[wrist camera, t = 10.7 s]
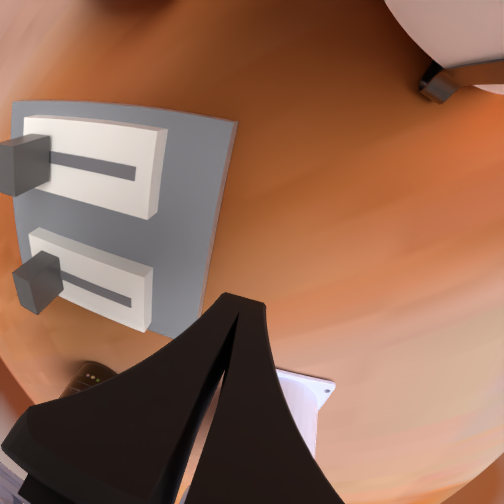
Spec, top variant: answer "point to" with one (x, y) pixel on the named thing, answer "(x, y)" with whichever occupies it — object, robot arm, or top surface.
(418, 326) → the top surface
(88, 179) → the grey slider panel
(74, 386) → the supplement bottle
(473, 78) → the coffee press
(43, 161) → the gray slider knob
